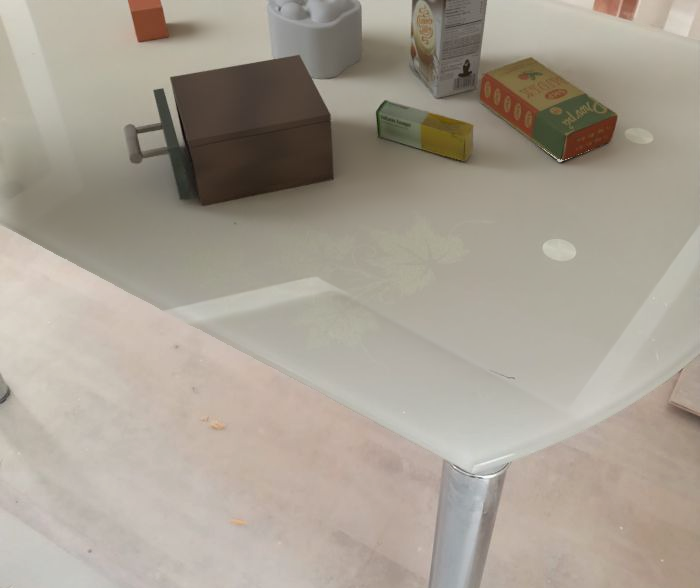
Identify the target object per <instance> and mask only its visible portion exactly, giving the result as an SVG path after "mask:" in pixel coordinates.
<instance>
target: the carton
mask: <svg viewBox="0 0 700 588" xmlns="http://www.w3.org/2000/svg"><path fill="white" fill-rule="evenodd" d="M479 87H480V88H479V102H480V103H481V104H482V105H484V106H485V107H486V108H487V109H489V110H490V111H492V112H493V113H494V114H496V116H499V117H500V118H501V119H502V120H504V121H505V122H506V123H508V124H509V125H510V126H511V127H513V128H514V129H515V130H516V131H518V132H520V133H521V134H522V135H523V136H524V137H526V138H527V139H528V140H530V141H531V142H532V143H533V144H535V145H536V144H537V145H539V146H540V147H541V148H543V149H545V150H546V151H547V152H549V153H550V154H552V155H553V156H555V157H556V158H557V159H560V160H561V159H562V160H565V159H568V158H571V157H574V156H576V155H578V154H581V153H584V152H586V151H588V150H591V149H593V148H595V149H597V148H599V147H598V146H600V145H602V144H604V145H606V144H608V143H607V142H609V141H610V142H611V141H612V139H613V137H614V133H615V130H616V126H617V122H618V114H617V112H615V111H613V110H612V109H610V108H609V107H607V106H606V105H604V104H603V103H601V102H599V100H597V99H595V98H594V97H593V96H591V95H589V94H587V93H586V92H585V91H583V90H582V89H580V88H579V87H577V86H575V85H574V84H573V83H571V82H569V80H568V81H567V79H565V78H563V77H562V76H560V75H559V74H558V73H556V72H554V71H553V70H551V69H550V68H549V67H547V66H546V65H544V64H543V63H541V62H540V61H538V60H536V59H534V57H532V56H530V57H526V58H524V59H521V60H517V61H515V62H512V63H509V64H506V65H504V66H501V67H498V68H495V69H493V70H489V71H488V72H485V73H483V74H482V76H481V81H480V86H479ZM610 142H609V143H610ZM605 143H606V144H605ZM537 145H536V146H537ZM539 146H538V147H539ZM602 146H603V145H602ZM540 147H539V148H540ZM596 147H597V148H596ZM600 147H601V146H600ZM541 148H540V149H541ZM593 150H594V149H593ZM591 151H592V150H591ZM588 152H589V151H588ZM586 153H587V152H586ZM584 154H585V153H584ZM581 155H582V154H581ZM576 157H577V156H576ZM574 158H575V157H574Z"/></svg>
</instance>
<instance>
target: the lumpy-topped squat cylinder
mask: <svg viewBox="0 0 700 588" xmlns="http://www.w3.org/2000/svg"><path fill="white" fill-rule="evenodd" d="M266 8H267V21H268V30H269V38H270V39H269V40H270V49H271V55H272V57H273V59H278V58H284V57H289V56H295V55H300V57H301V59H302V61H303V63H304V65H305V66H306V68H307V70H308V72H309V74H310V76H311V78H312V79H322V80H323V79H325V80H326V79H332V78H335V77H337V76H339V75H341V74H342V73H343V72H344V71H345V70H346V69H347V68H348V67H350V66H352V65H355V64H356V63H358V62H359V61H360V60H361V59H362V58H363V13H362V12H363V11H362V9H363V8H362V3H361V1H360V0H267V1H266Z"/></svg>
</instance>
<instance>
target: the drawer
mask: <svg viewBox="0 0 700 588" xmlns="http://www.w3.org/2000/svg"><path fill="white" fill-rule="evenodd" d="M152 91H153V96H154V100H155V104H156V108H157V113H158V117H159V121H160V122H157V123H151V124H145V125H141V126H136V125H134V124H131V123H129V124H126V125H125V126H124V127H123V132H124V138H125V143H126V148H127V153H128V158H129V161H130V162H131V163H132V164H133V165H138V164H140V163H142V161H143V159H148V158H154V157H159V156H163V155H164V156H165V155H168V158H169V162H170V167H171V170H172V173H173V178H174V182H175V185H176V189H177V193H178V196H179V200H180V201H184V200H189V199H191V198H192V197H191V193H190V188H189V184H188V180H187V179H188V178H187V173H186V169H185V165H184V160H183V157H182V151H181V148H180V144H179V140H178V135H177V133H176V129H175V126H174V122H173V117H172V115H171V110H170V107H169V104H168V100H167V96H166V92H165V89H164V87H162V88H157V89H153V90H152ZM183 127H184V126H183ZM156 131H162V134H163V138H164V141H165V146H163V147H158V148H151V149H146V150H142V149H141V144H140V139H139V134H145V133H146V134H147V133H150V132H156ZM184 132H185V130H184ZM185 137H186V140H187V136H186V133H185ZM187 144H188V147H189V143H188V140H187ZM189 151H190V148H189ZM190 154H191V153H190Z"/></svg>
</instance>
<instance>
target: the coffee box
mask: <svg viewBox="0 0 700 588" xmlns="http://www.w3.org/2000/svg"><path fill="white" fill-rule="evenodd" d="M487 6H488V0H411V19H410V43H409V68H410V69H411V70H412V71H413V73H414V74H415V75H416V76H417V77H418V78H419V80H420V81H421V82H422V84H424V86H425V87H426V88H427V90H429V92H430V93H431V95H432V96H433V97H434V98H435V99H441V98H446V97H449V96H452V95H457V94H460V93H466V92H469V91H473V90H476V89H477V88H478V87H477V86H478V80H479V72H480V71H479V70H480V62H481V54H482V47H483V39H484V29H485V24H486V23H485V22H486V15H487V14H486V13H487Z"/></svg>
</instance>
